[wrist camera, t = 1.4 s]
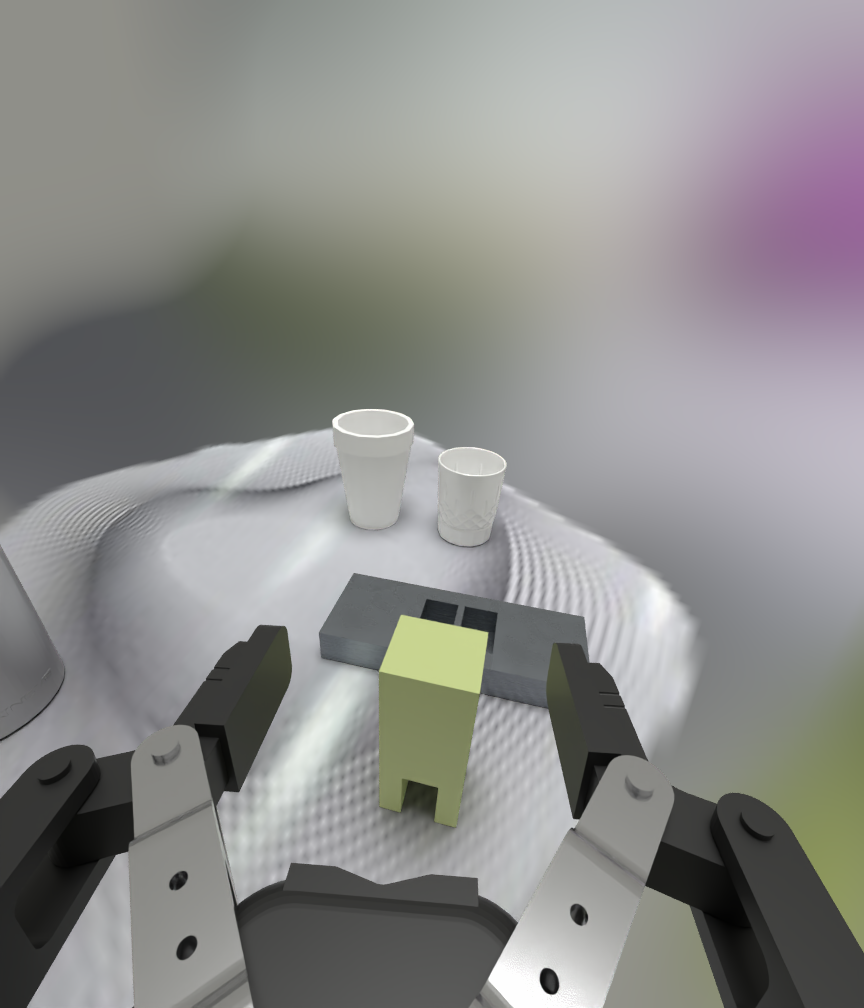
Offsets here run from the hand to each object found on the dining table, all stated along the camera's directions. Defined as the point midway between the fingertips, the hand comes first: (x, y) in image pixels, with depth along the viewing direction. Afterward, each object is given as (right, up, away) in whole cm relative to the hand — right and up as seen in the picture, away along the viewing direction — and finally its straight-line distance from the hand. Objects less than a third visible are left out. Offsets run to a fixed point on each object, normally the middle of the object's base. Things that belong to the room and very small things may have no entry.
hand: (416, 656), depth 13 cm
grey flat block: (+2, -8, +27) cm, 28 cm away
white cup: (+5, +1, +43) cm, 43 cm away
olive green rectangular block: (0, -14, +16) cm, 22 cm away
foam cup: (-7, +3, +45) cm, 46 cm away
